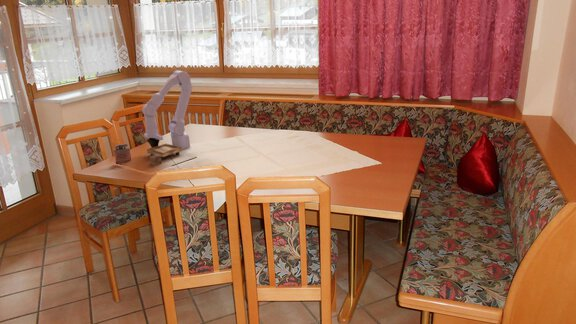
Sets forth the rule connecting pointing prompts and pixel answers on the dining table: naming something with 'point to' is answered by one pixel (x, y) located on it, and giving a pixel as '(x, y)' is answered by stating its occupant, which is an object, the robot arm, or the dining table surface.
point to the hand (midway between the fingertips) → (155, 151)
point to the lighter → (122, 153)
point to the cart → (164, 150)
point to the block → (155, 159)
